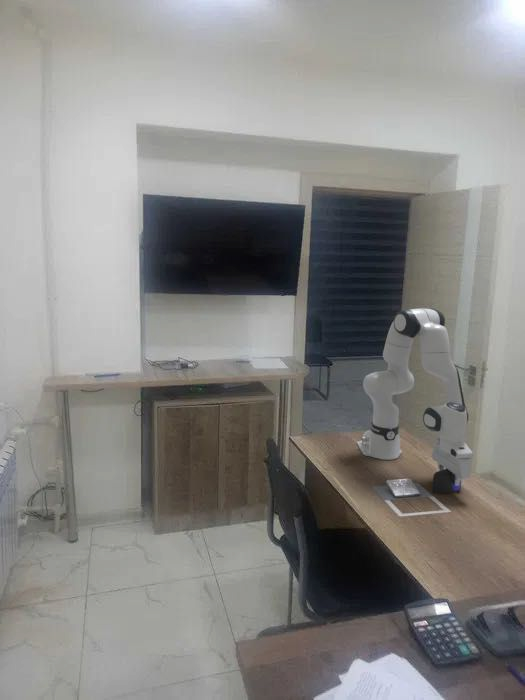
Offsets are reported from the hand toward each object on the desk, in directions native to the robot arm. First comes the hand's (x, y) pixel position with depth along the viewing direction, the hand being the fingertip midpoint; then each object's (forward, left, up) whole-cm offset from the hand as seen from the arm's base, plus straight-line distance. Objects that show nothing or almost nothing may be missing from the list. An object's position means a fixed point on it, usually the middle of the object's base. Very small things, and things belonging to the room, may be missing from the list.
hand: (448, 479), depth 194 cm
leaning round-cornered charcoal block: (-1, 0, -5) cm, 5 cm away
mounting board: (+5, -19, -5) cm, 21 cm away
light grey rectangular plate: (0, -19, -3) cm, 19 cm away
